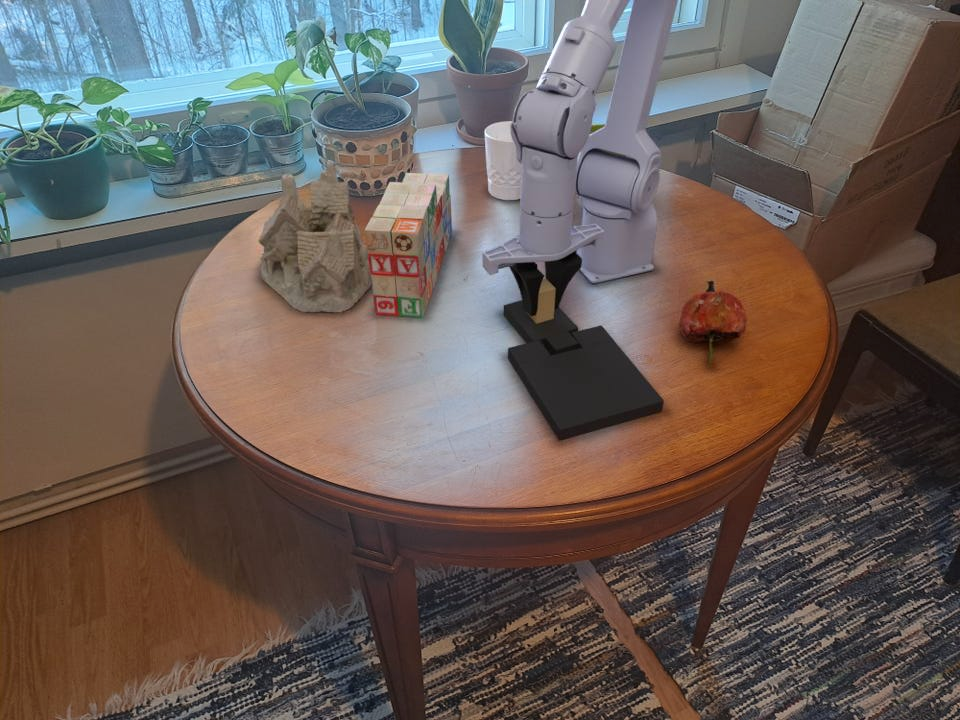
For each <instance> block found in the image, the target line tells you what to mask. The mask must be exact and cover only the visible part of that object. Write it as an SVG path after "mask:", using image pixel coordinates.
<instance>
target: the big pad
mask: <svg viewBox="0 0 960 720" xmlns="http://www.w3.org/2000/svg"><path fill="white" fill-rule="evenodd" d="M571 335H572V336H573V338H574V339H575V340H576V341H577V342H578V349H576V350H572V351H568V352H564V353H560V354H556V355H552V356H551V355H550V353H549V352H548V351H547V350H546V348H545V347H544V345H543V344H542V343H541V341H540V340H539V341H535V342H530V343H526V342H525V343H523V344H518V345H514V346H511V347H508V348H507V359H508V361H509V363H510V364H511V366H512V367H513V369H514V371H515V373H516V374H517V376H518V377H519V379H520V380H521V382H522V383H523V385H524V386H525V388H526V390H527V392H528V393H529V395H530V396H531V398H532V399H533V401H534V403H535V404H536V406H537V407H538V409H539V410H540V412H541V414H542V415H543V416H544V419H545V420H546V422H547V424H548V425H549V427H550V428H551V430H552V431H553V433H554V434H555V436H556V438H557V439H558V441H564V440H567V439H570V438H573V437H577V436H580V435H584V434H588V433H591V432H594V431H598V430H601V429H605V428H609V427H612V426H616V425H619V424H622V423H626V422H629V421H633V420H636V419H637V420H638V419H640V418H643V417H648V416H651V415H654V414H658V413H661V412H662V411H663V407H664V402H665V400H664V399H663V398H662V396H661V395H660V394H659V393H658V392H657V390H656V389H655V388H654V387H653V386H652V384H651V383H650V382H649V380H648V379H647V378H646V377H645V376H644V375H643V373H642V372H641V371H640V370H639V368H638V367H637V366H636V365H635V364H634V363H633V361H632V360H631V359H630V358H629V357H628V355H627V354H626V353H625V352H624V351H623V349H622V348H621V347H620V346H619V345H618V344H617V342H616V341H615V339H614V338H613V337H612V336H611V335H610V334H609V332H608V331H607V330H606V329H605V328H604V326H603V325H601V324H600V325H596V326H593V327H589V328H585V329H581V330H580V329H579V330H578V331H576V332H572V333H571Z"/></svg>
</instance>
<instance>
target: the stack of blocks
mask: <svg viewBox="0 0 960 720" xmlns="http://www.w3.org/2000/svg"><path fill="white" fill-rule="evenodd" d="M450 191H451V190H450V174H441V173H420V172H415V173H414V172H406V173H405V174H404V177H403V179H402V182H399V181H397V182H396V181H389V183H388V185H387V187H386V189H385V190H384V194H383V195H382V198H381V200H380V202H379V204H377V207H376V209H375V210H374V211H373V215H372V217H370V219H369V221H368V223H367V225H366V226H365V229H364V234H365V240H366V241H365V242H366V243H365V244H366V248H367V249H368V261H369V268H370V274H371V280H372V284H371V287H372V297H373V304H374V314H375V315H378V316H379V315H380V316H392V317H406V318H418V319H422V318H424V316H425V313H426V310H427V307H428V304H429V303H430V301H431V297H432V295H433V291H434V289H435V286H436V283H437V281H438V275H439V272H440V269H441V264H442V262H443V259H444V255H445V254H446V252H447V250H448V246H449V243H450V240H451V237H452V235H453V225H452V224H453V222H452V196H451V194H450V193H451V192H450Z"/></svg>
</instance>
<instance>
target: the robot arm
mask: <svg viewBox="0 0 960 720" xmlns="http://www.w3.org/2000/svg"><path fill="white" fill-rule="evenodd" d="M630 2H631V0H585V3H584V6H583V7H582V11H581V13H580V16H578V17H575V18H572V19H570V20H569V21H567V22H565V24H563V27H562V30H561V32H560V34H559V36H558V39H557V40H556V42H555V45H554V47H553V49H552V51H551V54H550V55H549V58H548V60H547V62H546V64H545V67H544V69H543V71H542V73H541V76H540V78H539V80H538V82H537V84H536V87H534V88H532V89H530V91H526V92H525V93H523V94H522V95H521V96H520V97H519V99H518V101H517V103H516V105H515V107H514V111H513V115H512V123H511V125H510V130H511V136H512V139H513V141H514V143H515V145H516V159H518V162H519V163H520V164H521V197H520V199H519V203H520V204H519V233H518V235H516V236H514V237H512V238H510V239H508V240H507V241H505V242H503V243H500V244H499V245H498V246H496V247H494V248H490V249H488V250H484V251H482V253H481V254H482V255H481V256H482V259H481V260H482V261H481V262H482V268H483V269H484V271H486V273H487V274H488V275H490V276H493V275H496V274H498V273H499V270H501V269H505V268H509V270H510V271H511V273H512V275H513V277H514V280H515V281H516V284H517V287H518V290H519V293H520V298H521V300H522V302H523V308H524V309H525V310H526V312H527V313H528V314H529V315H530V316H535V315H536V313H537V310H538V295H539V290H540V286H541V283H542V280H543V279H547V280H548V281H549V282H550V283H551V284H552V285H553V286H554V287H555V288H556V292H555V305H554V310H555V309H558V307H559V308H560V304H561V301H562V299H563V297H564V294H565V292H566V290H567V287H568V286H569V284H570V282H571V281H572V280H573V278H574V276H575V275H576V274H577V273H578V271H580V273H582V274H583V275H584V277H585V278H586V279H587V280H588V281H589V282H590V283H591V284H598V283H602V282H607V281H612V280H616V279H621V278H624V277H629V276H633V275H638V274H642V273H645V272H652V271H654V268H655V265H653V264H652V260H653V254H654V248H655V243H656V237H657V232H658V231H657V230H658V216H657V212H656V209H655V207H654V205H653V201H654V199H655V197H656V194H657V191H658V189H659V184H660V170H661V165H662V159H663V158H662V156H663V152H662V151H661V150H660V148H659V147H658V145H657V144H656V143H655V142H654V140H653V139H652V138H651V136H649V134H648V132H647V125H648V122H649V118H650V114H651V109H652V106H653V103H654V98H655V94H656V90H657V85H658V83H659V82H658V81H659V78H660V73H661V71H662V66H663V62H664V58H665V54H666V50H667V46H668V42H669V38H670V34H671V29H672V25H673V21H674V18H675V14H676V10H677V6H678V2H679V0H632V4H631V9H630V13H629V18H628V23H627V27H626V31H625V35H624V40H623V44H622V48H621V53H620V57H619V62H618V65H617V71H616V75H615V80H614V84H613V89H612V93H611V97H610V102H609V106H608V111H607V114H606V115H607V116H606V120H605V123H604V124H605V126H604V127H603V128H601V129H599V130H597V131H595V132H593V133H592V134H590V130H591V125H593V117H594V114H595V111H596V106H597V102H596V100H595V98H596V95H597V92H598V91H599V88H600V86H601V84H602V82H603V80H604V77H605V75H606V73H607V71H608V69H609V67H610V64H611V62H612V60H613V58H614V56H615V54H616V51H617V42H616V40H615V37H614V35H613V31H614V30H615V28H616V26H617V25H618V23H619V21H620V19H621V17H622V16H623V14H624V12H625V10H626V9H627V6H628V4H629V3H630ZM589 134H590V135H589ZM602 149H603V150H607V151H611V152H615V153H618V154H622V155H626V157H624V156H620V155H617V154H613V153H609V152H605V151H602ZM578 154H579V156H578ZM575 196H577V197H578V205H581V206H582V207H583V208H582V218H581V225H573V217H574V216H573V215H574V203H575ZM541 262H542V263H544V271H545V272H544V273H543V272H542V271H541V270H540V269H539V268H538V264H537V263H541Z"/></svg>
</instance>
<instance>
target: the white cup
mask: <svg viewBox="0 0 960 720" xmlns="http://www.w3.org/2000/svg"><path fill="white" fill-rule="evenodd" d="M512 121H513V120H512ZM512 121H510V120H506V121H505V120H504V121H498V122H494V123H491V124H490V125H488V126H487V127H485V129H484V146H485V147H484V149H485V164H486V165H485V166H486V175H487V189H488V191H487V192H488V193H489V194H490V195H491V197H493V198H495V199H498V200H502V201H517V200H520V197H521V164H520V163H519V162H518V159H516V145H515V143H514V141H513V139H512V136H511V130H510V125H511V123H512Z"/></svg>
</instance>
